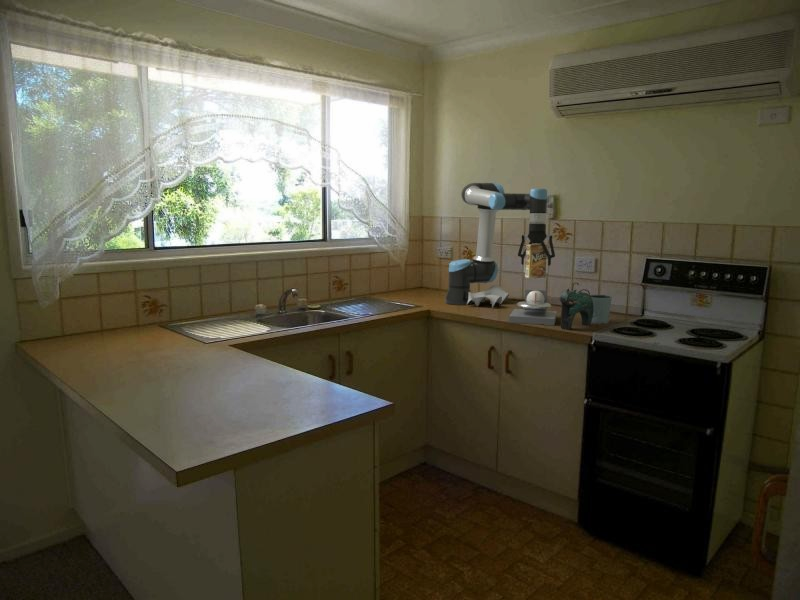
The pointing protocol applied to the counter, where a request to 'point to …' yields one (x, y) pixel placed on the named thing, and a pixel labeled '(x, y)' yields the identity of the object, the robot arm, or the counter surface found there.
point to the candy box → (535, 261)
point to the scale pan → (533, 305)
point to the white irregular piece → (489, 295)
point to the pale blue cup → (601, 308)
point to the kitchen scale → (534, 310)
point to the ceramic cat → (575, 307)
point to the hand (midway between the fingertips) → (535, 272)
